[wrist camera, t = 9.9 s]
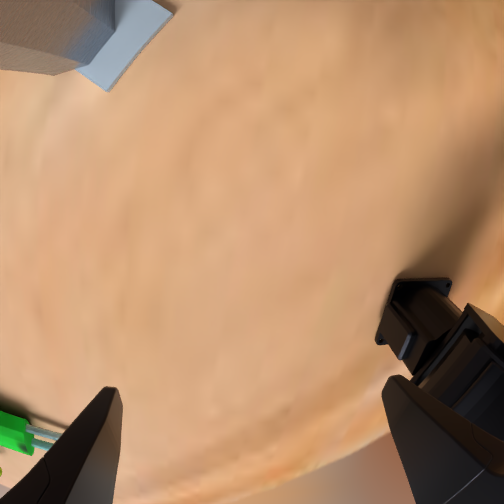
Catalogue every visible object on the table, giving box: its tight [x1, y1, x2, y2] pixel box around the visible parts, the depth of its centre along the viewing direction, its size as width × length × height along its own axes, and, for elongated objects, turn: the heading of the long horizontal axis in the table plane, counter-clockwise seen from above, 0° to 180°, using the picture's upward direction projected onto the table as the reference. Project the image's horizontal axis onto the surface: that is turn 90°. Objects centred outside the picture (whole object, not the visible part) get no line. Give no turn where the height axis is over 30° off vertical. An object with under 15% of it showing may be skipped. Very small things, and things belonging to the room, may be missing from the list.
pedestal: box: [75, 0, 173, 92], centre depth 12 cm, size 11×6×3 cm, turn 49°
